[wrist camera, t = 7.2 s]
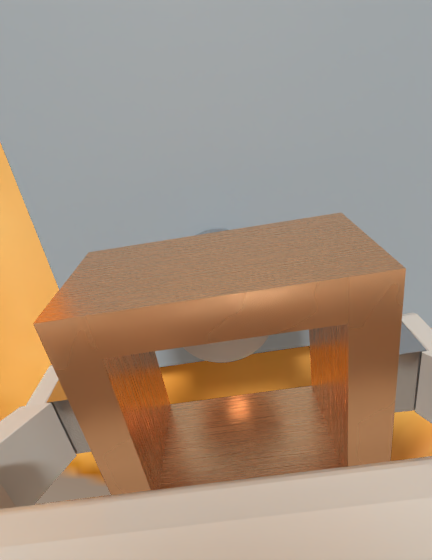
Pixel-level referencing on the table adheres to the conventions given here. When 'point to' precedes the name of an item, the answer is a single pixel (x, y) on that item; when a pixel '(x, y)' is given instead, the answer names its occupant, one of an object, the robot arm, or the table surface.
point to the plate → (220, 124)
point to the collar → (225, 327)
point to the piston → (226, 342)
